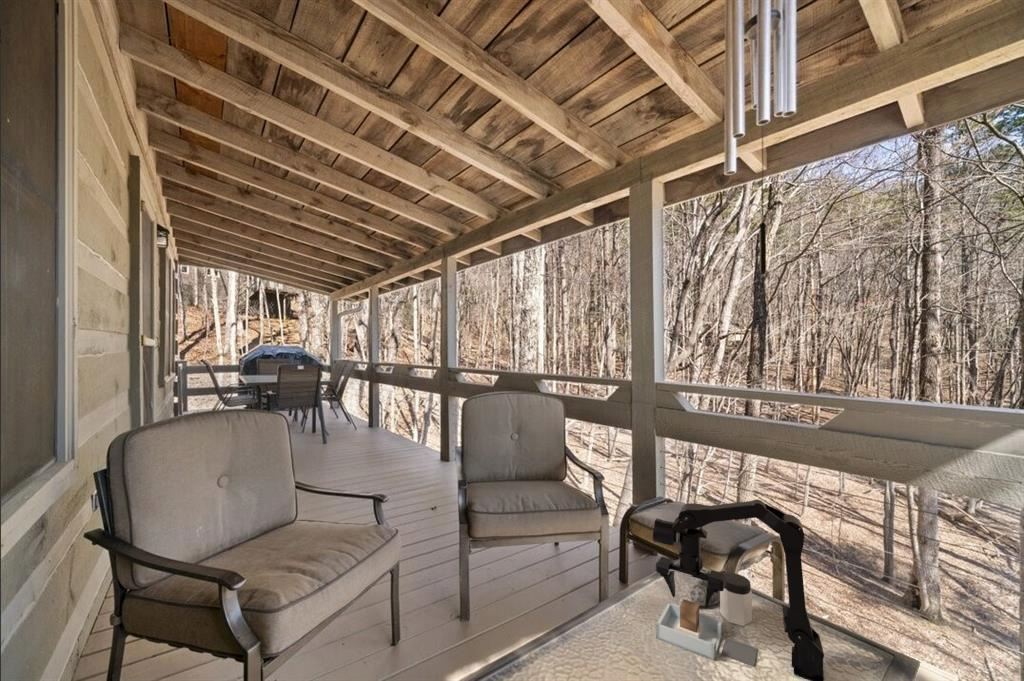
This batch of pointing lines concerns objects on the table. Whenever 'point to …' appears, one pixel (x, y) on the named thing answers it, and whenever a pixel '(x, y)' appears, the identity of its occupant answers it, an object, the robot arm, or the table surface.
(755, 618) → the table surface
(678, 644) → the access box
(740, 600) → the jar
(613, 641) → the table surface
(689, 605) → the walnut block
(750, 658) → the rubber mat
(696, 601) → the mineral rock
